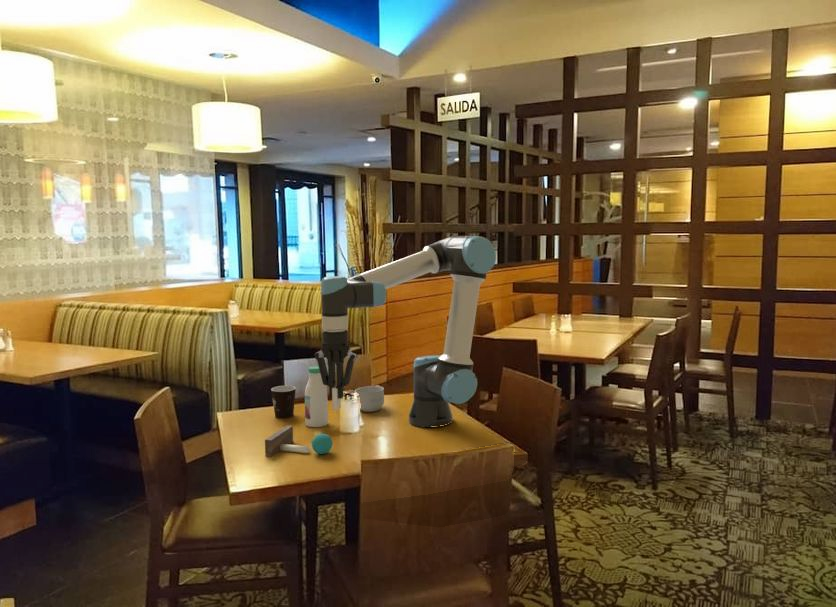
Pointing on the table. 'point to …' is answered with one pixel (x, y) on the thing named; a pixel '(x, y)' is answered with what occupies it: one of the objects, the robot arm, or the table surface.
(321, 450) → the ball
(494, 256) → the robot arm
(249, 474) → the table surface
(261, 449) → the table surface
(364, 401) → the teacup
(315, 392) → the milk bottle
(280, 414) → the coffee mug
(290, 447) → the pin
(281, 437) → the back wall
